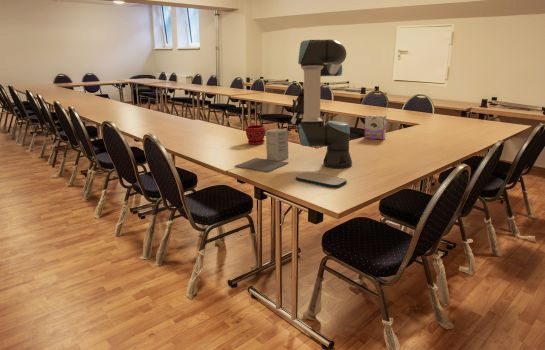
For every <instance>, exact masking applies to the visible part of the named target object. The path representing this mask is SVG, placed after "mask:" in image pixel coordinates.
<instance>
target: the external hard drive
mask: <svg viewBox="0 0 545 350" xmlns="http://www.w3.org/2000/svg"><path fill="white" fill-rule="evenodd" d="M295 180H296V181H298V182H301V183H305V184H311V185H315V186H321V187H324V188H330V189H340V188H341V187H344V186H345V185H347V182H348V181H347V179H346V178H342V177H339V176H333V175H328V174H321V173H316V172H311V171H310V172H308V171H307V172H305V171H304V172H302V173H299V174H297V175H296V176H295Z"/></svg>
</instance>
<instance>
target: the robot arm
mask: <svg viewBox="0 0 545 350" xmlns="http://www.w3.org/2000/svg"><path fill="white" fill-rule="evenodd" d="M346 59H347V49H346V47H345V46H344V45H343V44H342V43H341V42H339V41H337V40H335V39H306V40H302V41H301V42H300V44H299V52H298V65H300V69H302V70H303V84H302V86H301V88H300V90H299V93H298V97H296V99H292V105H291V106H292V107H291V113H292V115H291V119H290V123H291V124H292V125H295V124H296V121H297V120H298V119H299V117H300V116H301V115H303V118H302V119H301V121H300V124H298V133H299V140H300V145H301V146H303V147H326V152H325V156H324V159H323V161H322V162H323V166H325V167H326V168H330V169H347V168H350V167H351V166H352V165H353V161H352V157H351V153H350V134H351V132H350V131H351V129H350V125H349V123H347V122H344V121H338V120H337V121H336V120H328V121H327V123H324V120H323V119H322V118H321V77H339V76H342V74H343V62H345V60H346ZM352 167H353V166H352Z"/></svg>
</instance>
